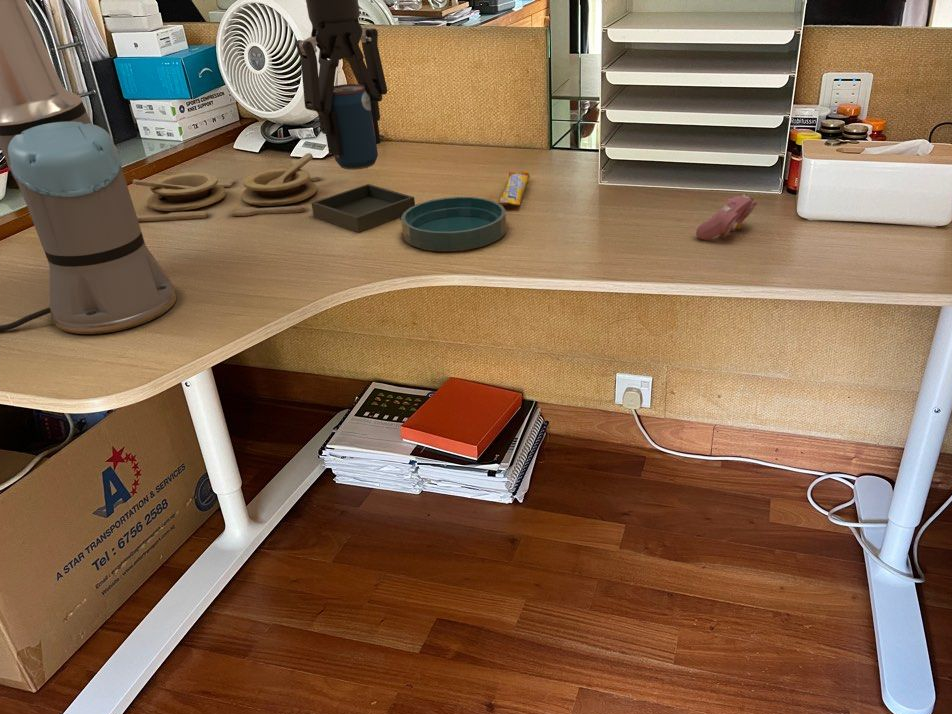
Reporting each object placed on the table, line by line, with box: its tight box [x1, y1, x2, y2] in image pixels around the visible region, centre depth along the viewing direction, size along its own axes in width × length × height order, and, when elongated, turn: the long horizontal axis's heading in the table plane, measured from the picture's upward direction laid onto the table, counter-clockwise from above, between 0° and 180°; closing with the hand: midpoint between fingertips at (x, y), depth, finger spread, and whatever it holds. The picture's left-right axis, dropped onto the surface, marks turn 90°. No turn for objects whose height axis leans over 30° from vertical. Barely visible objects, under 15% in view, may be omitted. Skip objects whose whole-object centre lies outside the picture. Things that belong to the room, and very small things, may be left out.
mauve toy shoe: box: [695, 193, 758, 240], centre depth 127 cm, size 10×5×7 cm, turn 143°
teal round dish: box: [400, 196, 508, 252], centre depth 132 cm, size 16×16×3 cm
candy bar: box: [496, 171, 531, 207], centre depth 147 cm, size 17×4×2 cm, turn 174°
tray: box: [310, 183, 416, 233], centre depth 141 cm, size 12×12×2 cm
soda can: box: [331, 83, 379, 171], centre depth 134 cm, size 7×7×12 cm
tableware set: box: [132, 152, 320, 223], centre depth 149 cm, size 30×20×6 cm, turn 94°
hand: (355, 147), depth 135 cm, fingers closed on soda can, 7 cm apart
